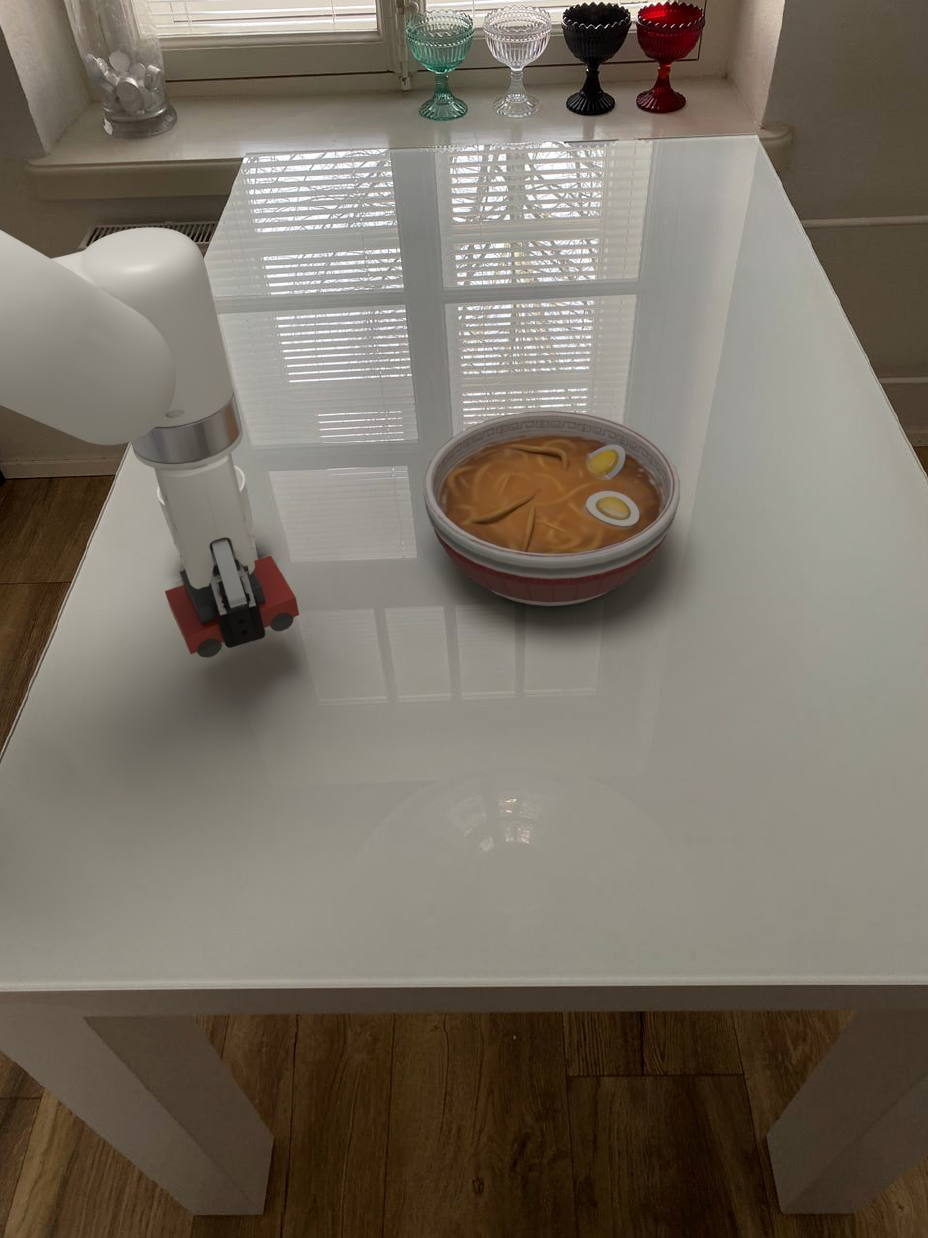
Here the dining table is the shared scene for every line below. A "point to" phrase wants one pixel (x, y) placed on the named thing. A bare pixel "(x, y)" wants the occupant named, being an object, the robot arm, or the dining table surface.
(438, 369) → the dining table surface
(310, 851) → the dining table surface
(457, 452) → the bowl
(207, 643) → the toy car
